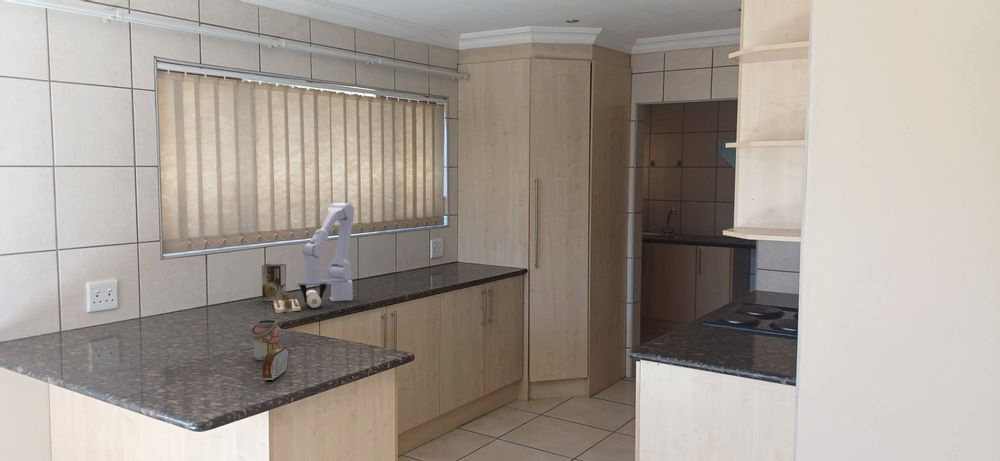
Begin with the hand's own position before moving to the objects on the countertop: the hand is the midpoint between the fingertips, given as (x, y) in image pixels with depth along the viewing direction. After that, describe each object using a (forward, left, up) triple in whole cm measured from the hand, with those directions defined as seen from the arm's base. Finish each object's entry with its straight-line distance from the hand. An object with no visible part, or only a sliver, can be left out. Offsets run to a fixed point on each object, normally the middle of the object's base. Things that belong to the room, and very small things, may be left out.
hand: (313, 301), depth 318 cm
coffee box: (+15, -19, -2) cm, 24 cm away
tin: (+21, +101, -2) cm, 103 cm away
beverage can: (+23, +80, -2) cm, 83 cm away
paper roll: (0, 0, -1) cm, 1 cm away
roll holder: (+11, 0, -2) cm, 11 cm away
